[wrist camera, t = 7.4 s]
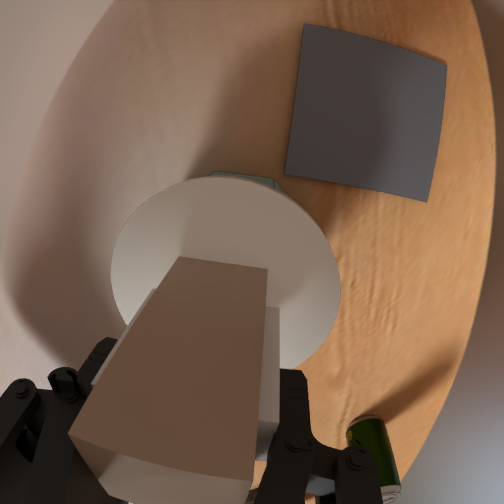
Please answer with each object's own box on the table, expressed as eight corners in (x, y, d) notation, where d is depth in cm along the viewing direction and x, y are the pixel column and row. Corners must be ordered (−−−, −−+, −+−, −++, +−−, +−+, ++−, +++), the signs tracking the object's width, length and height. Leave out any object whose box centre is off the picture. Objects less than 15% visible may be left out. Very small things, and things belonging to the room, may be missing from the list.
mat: (284, 173, 23) (284, 174, 22) (303, 25, 18) (304, 23, 17) (424, 200, 22) (426, 202, 22) (444, 66, 18) (446, 65, 17)
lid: (129, 351, 20) (56, 490, 9) (116, 166, 15) (-80, 254, 4) (309, 380, 20) (319, 545, 9) (360, 195, 15) (513, 354, 4)
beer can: (381, 408, 32) (402, 487, 21) (385, 428, 34) (403, 500, 23) (341, 421, 33) (352, 502, 22) (348, 440, 35) (359, 512, 24)
